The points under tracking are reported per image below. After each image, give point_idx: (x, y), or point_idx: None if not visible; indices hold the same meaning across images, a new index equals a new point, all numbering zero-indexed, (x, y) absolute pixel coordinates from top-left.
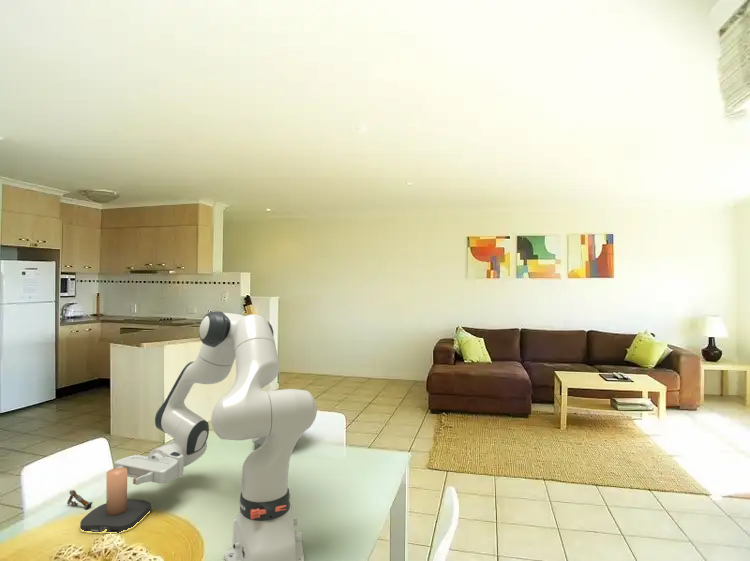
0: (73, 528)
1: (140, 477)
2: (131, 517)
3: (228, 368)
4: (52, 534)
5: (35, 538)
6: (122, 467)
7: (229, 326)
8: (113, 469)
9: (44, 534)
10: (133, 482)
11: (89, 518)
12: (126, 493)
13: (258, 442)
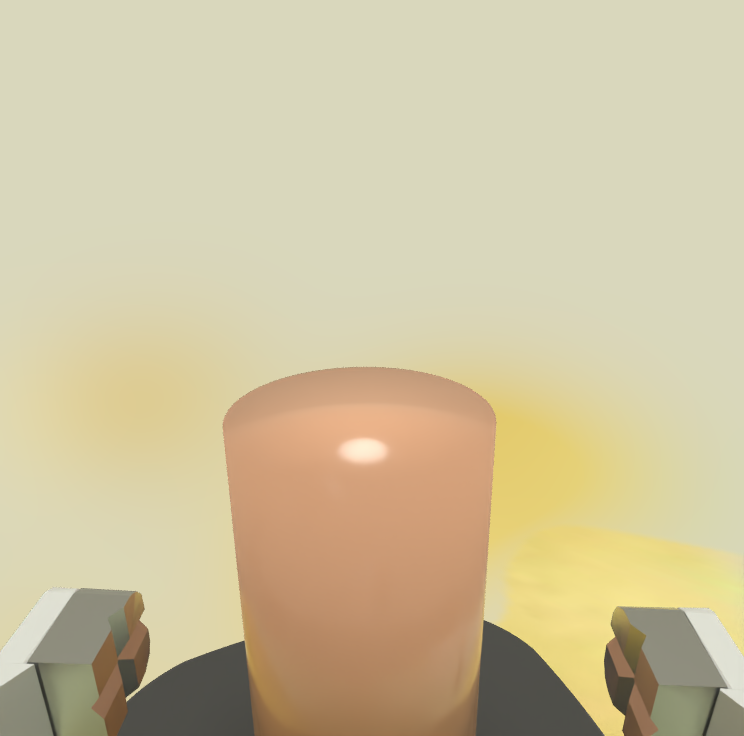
0: (557, 662)
1: (18, 630)
2: None
3: None
4: (585, 587)
5: (613, 546)
6: (401, 477)
7: None
8: (463, 421)
9: (624, 576)
10: (138, 629)
11: (492, 668)
12: (255, 719)
13: None
